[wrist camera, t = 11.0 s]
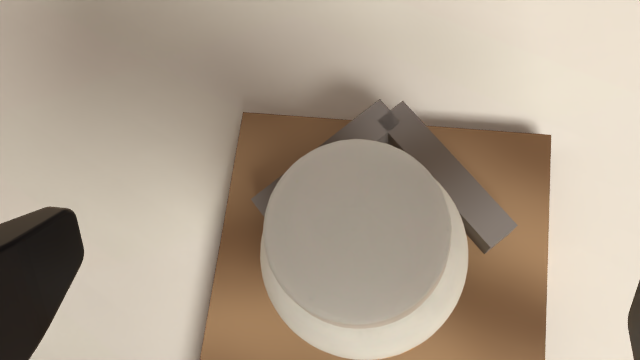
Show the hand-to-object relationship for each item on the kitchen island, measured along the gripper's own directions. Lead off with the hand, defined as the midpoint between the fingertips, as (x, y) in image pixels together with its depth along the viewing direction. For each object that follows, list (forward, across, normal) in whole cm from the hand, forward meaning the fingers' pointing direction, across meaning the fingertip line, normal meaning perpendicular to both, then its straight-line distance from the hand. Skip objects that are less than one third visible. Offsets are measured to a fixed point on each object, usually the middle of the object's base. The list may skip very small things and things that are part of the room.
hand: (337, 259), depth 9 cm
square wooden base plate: (+10, 0, +8) cm, 13 cm away
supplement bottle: (+10, 0, +8) cm, 13 cm away
